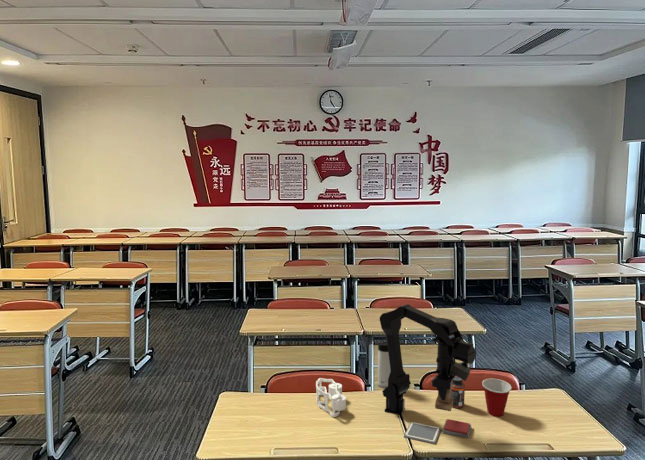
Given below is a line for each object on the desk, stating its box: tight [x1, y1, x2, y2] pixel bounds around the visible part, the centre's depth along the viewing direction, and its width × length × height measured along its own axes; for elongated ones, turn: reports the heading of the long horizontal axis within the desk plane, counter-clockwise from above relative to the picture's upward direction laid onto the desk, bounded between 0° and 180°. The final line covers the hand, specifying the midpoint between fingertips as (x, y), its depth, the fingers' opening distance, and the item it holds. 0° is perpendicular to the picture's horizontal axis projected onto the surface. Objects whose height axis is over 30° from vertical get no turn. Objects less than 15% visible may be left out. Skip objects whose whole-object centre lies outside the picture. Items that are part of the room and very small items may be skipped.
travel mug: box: [377, 341, 391, 390], centre depth 204 cm, size 6×7×20 cm
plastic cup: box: [481, 377, 513, 418], centre depth 178 cm, size 11×11×12 cm
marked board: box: [403, 421, 442, 445], centre depth 165 cm, size 11×11×1 cm
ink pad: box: [441, 418, 472, 439], centre depth 167 cm, size 9×8×2 cm
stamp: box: [434, 389, 453, 412], centre depth 165 cm, size 6×6×9 cm
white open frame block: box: [315, 377, 347, 418], centre depth 187 cm, size 20×11×7 cm, turn 5°
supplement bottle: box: [451, 376, 466, 409], centre depth 186 cm, size 6×6×11 cm
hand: (444, 397), depth 165 cm, fingers closed on stamp, 4 cm apart
